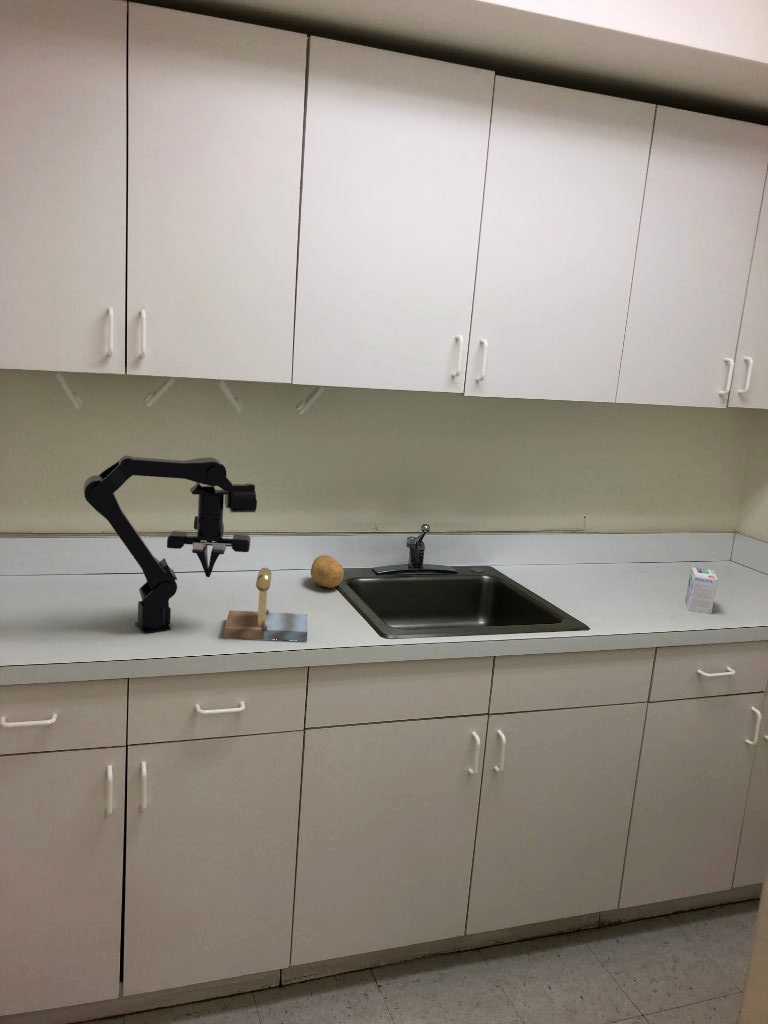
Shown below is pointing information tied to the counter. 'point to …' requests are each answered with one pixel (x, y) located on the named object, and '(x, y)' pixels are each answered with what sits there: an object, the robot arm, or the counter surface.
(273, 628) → the wood and metal base
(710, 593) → the light bulb box
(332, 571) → the potato
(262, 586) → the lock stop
